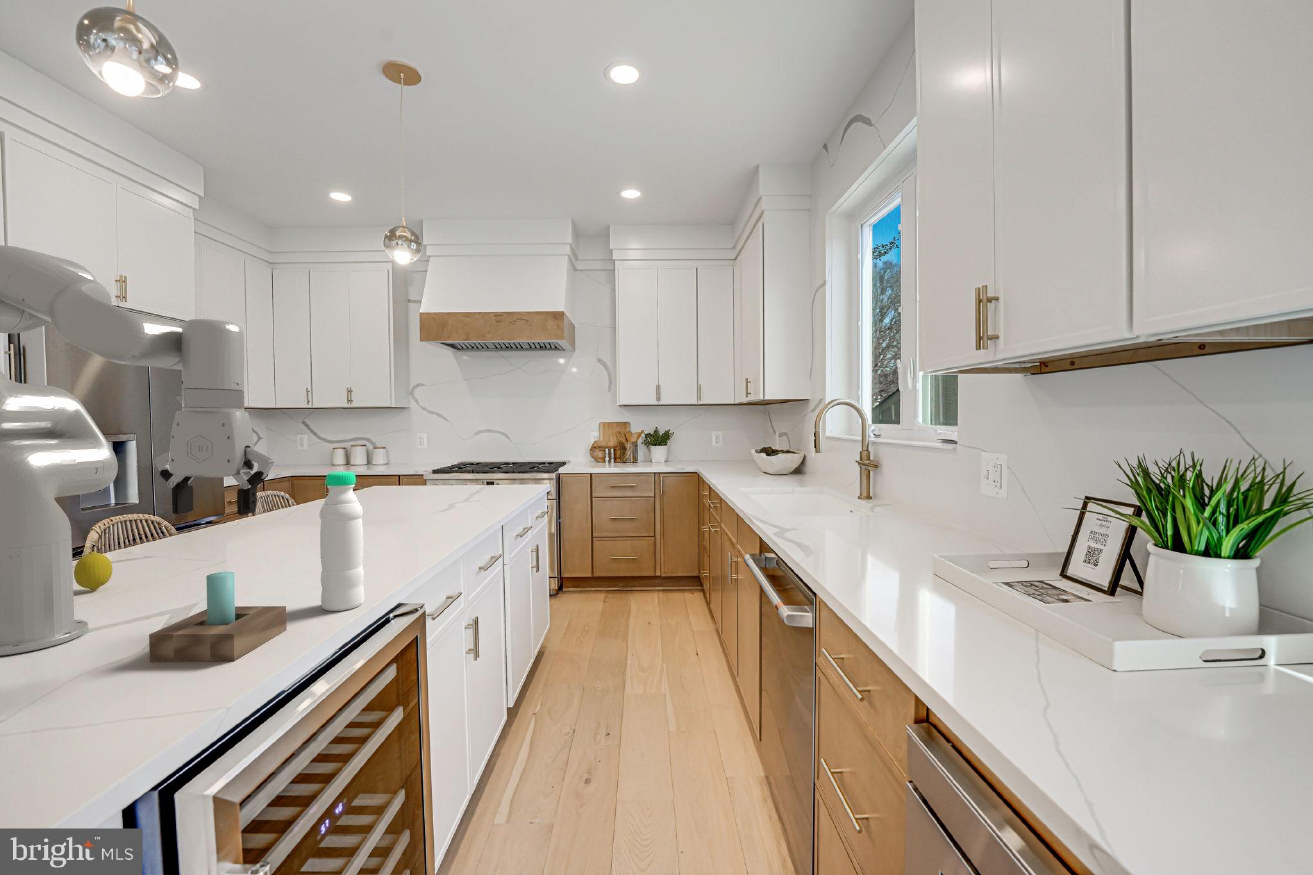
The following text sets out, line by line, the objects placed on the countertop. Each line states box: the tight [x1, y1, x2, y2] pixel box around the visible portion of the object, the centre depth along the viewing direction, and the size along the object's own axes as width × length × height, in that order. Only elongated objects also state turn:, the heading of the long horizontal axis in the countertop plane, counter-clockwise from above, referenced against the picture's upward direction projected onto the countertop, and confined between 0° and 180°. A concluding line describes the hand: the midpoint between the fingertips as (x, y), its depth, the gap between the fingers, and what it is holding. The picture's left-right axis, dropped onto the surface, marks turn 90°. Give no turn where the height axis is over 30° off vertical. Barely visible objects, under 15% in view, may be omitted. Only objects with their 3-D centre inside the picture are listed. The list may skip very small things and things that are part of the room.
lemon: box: [73, 551, 113, 592], centre depth 115 cm, size 6×6×8 cm
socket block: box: [148, 605, 287, 663], centre depth 88 cm, size 12×12×4 cm
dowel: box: [205, 571, 236, 625], centre depth 88 cm, size 3×3×11 cm
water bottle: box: [319, 471, 365, 612], centre depth 106 cm, size 7×7×25 cm
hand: (215, 513), depth 87 cm, fingers open, 9 cm apart
